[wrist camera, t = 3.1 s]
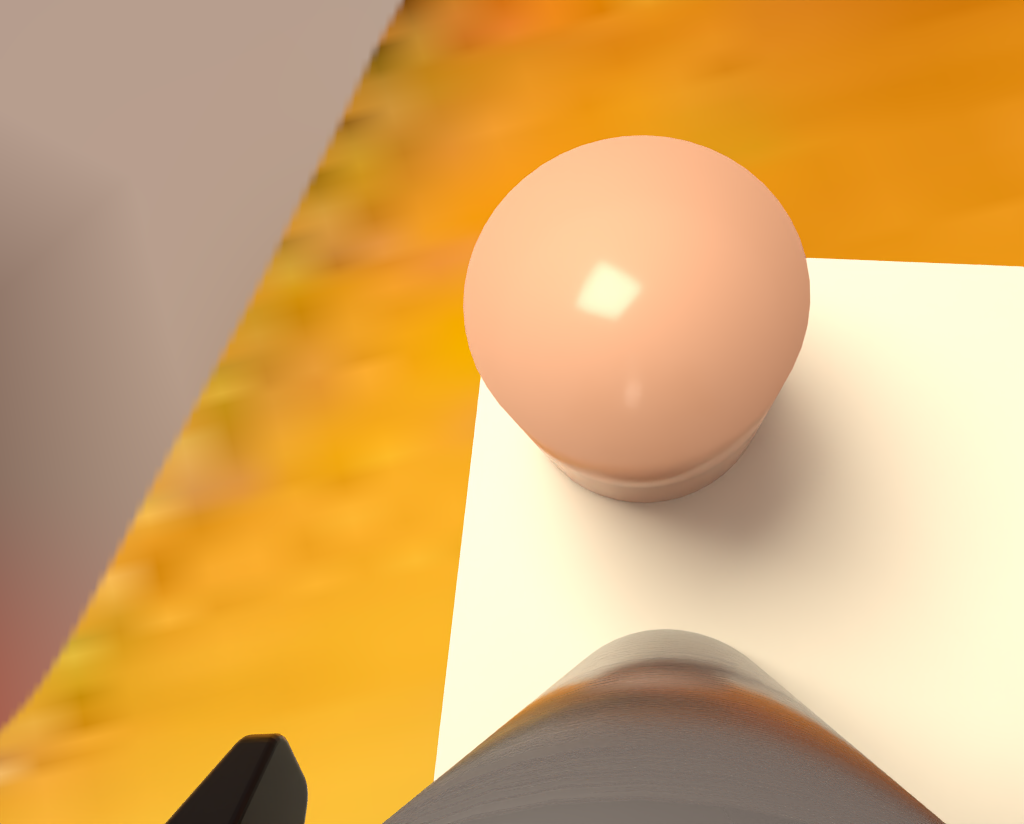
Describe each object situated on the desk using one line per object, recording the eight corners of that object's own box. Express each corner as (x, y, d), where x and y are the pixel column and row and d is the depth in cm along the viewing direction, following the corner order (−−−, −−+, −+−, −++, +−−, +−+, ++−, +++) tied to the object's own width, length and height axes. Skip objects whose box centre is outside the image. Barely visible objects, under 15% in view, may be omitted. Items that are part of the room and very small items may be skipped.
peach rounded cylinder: (759, 514, 16) (801, 479, 11) (510, 491, 16) (444, 450, 11) (773, 272, 16) (818, 138, 11) (535, 262, 17) (482, 132, 12)
